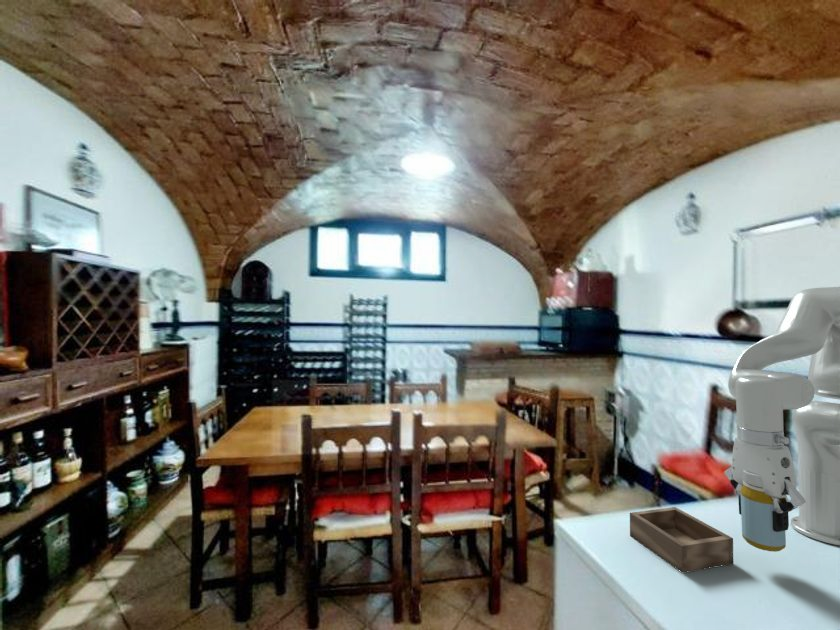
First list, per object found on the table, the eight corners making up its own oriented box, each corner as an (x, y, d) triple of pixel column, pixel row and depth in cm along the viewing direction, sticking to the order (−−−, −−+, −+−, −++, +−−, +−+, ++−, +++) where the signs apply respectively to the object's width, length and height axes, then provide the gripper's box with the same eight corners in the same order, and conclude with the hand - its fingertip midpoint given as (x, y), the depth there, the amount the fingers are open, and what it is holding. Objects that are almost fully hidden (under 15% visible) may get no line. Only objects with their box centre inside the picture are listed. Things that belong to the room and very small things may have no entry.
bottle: (794, 554, 82) (791, 479, 82) (754, 551, 84) (751, 477, 84) (772, 535, 89) (769, 465, 89) (735, 533, 91) (733, 464, 90)
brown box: (675, 529, 103) (675, 506, 103) (733, 564, 88) (733, 538, 88) (629, 535, 100) (629, 512, 100) (682, 572, 85) (681, 546, 85)
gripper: (822, 446, 79) (825, 541, 79) (734, 423, 96) (737, 501, 96) (791, 451, 77) (794, 547, 77) (707, 426, 94) (710, 505, 94)
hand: (762, 521), depth 86 cm, fingers closed on bottle, 6 cm apart
